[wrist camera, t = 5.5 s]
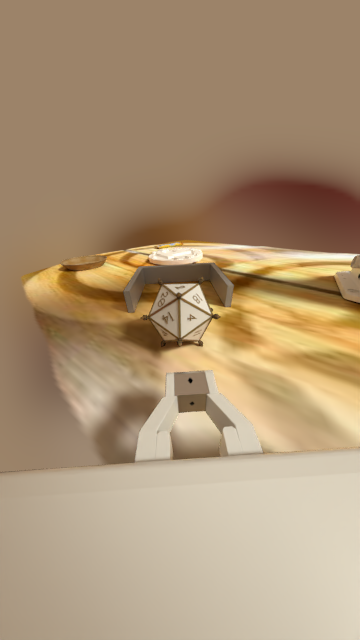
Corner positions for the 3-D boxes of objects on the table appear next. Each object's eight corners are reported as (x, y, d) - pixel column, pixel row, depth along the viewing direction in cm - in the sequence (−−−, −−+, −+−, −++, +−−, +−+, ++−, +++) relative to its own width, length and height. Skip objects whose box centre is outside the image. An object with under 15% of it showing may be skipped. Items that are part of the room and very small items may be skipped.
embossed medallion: (147, 258, 68) (146, 250, 66) (192, 253, 72) (192, 245, 70) (152, 270, 52) (151, 260, 50) (210, 263, 55) (211, 254, 54)
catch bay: (230, 306, 29) (233, 285, 26) (128, 312, 28) (123, 291, 26) (212, 278, 41) (213, 262, 39) (141, 282, 41) (138, 266, 39)
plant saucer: (94, 260, 67) (92, 253, 66) (117, 264, 60) (115, 256, 58) (55, 269, 57) (51, 262, 55) (77, 275, 50) (73, 266, 48)
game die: (188, 368, 22) (187, 361, 13) (142, 333, 24) (112, 305, 15) (223, 318, 24) (244, 280, 15) (177, 290, 27) (171, 241, 17)
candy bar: (179, 245, 93) (179, 241, 92) (184, 245, 91) (184, 242, 90) (154, 249, 85) (153, 245, 84) (158, 250, 82) (158, 246, 81)
